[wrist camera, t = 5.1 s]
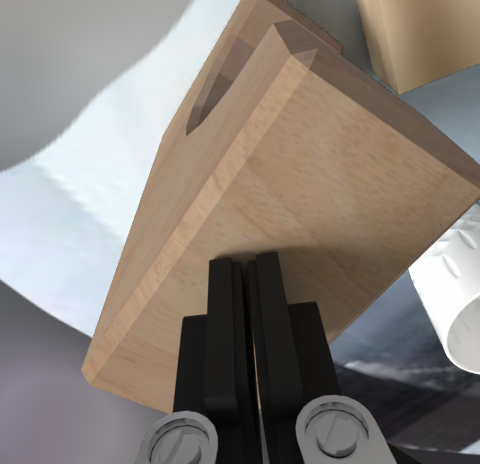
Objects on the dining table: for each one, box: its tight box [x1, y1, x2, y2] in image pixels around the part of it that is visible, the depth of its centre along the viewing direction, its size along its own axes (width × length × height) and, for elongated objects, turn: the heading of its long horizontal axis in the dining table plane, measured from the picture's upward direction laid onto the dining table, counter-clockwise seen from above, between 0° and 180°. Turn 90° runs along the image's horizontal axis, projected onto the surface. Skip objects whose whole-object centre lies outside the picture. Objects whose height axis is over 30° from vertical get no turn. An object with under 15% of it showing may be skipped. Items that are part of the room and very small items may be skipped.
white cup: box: [408, 203, 480, 374], centre depth 30 cm, size 8×8×10 cm
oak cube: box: [356, 0, 480, 95], centre depth 24 cm, size 5×5×5 cm
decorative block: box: [81, 0, 480, 414], centre depth 20 cm, size 11×6×20 cm, turn 146°
